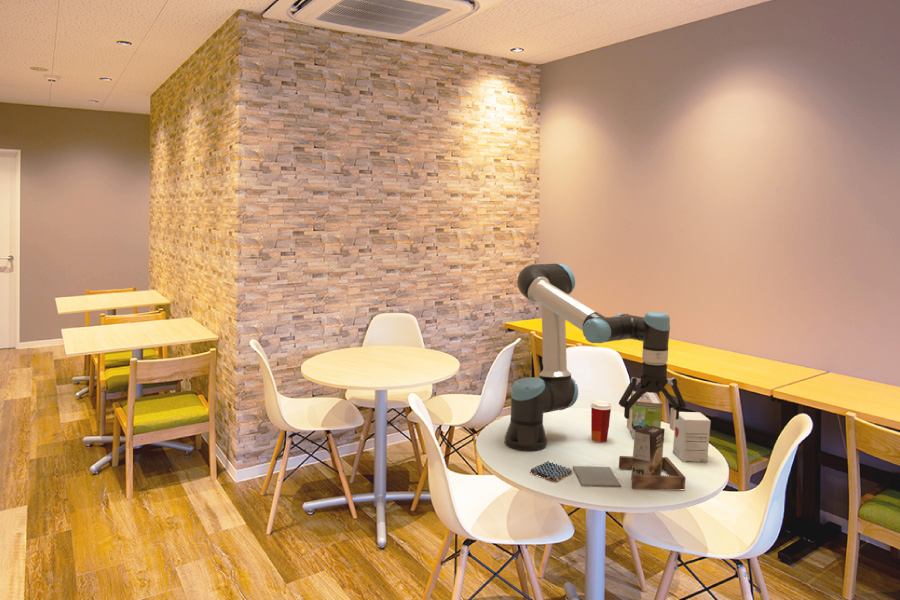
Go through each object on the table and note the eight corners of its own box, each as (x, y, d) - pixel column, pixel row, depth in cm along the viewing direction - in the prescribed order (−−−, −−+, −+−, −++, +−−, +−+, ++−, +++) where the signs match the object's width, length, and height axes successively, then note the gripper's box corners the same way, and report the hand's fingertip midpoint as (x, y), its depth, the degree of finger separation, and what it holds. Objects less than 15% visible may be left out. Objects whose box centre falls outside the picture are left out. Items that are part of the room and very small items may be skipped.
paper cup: (608, 436, 236) (610, 400, 234) (611, 444, 229) (613, 406, 227) (587, 435, 237) (589, 399, 235) (589, 442, 229) (591, 405, 228)
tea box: (660, 441, 233) (663, 403, 231) (632, 439, 234) (635, 401, 232) (653, 428, 247) (656, 391, 245) (627, 426, 249) (630, 390, 247)
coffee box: (650, 485, 194) (653, 435, 192) (630, 480, 198) (633, 431, 196) (661, 476, 201) (665, 428, 199) (642, 471, 205) (645, 423, 203)
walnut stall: (632, 488, 191) (633, 476, 191) (618, 467, 207) (619, 456, 207) (684, 490, 191) (685, 477, 191) (666, 468, 207) (667, 457, 207)
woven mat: (527, 474, 201) (528, 468, 201) (546, 465, 209) (546, 459, 208) (555, 485, 194) (555, 478, 194) (573, 475, 202) (574, 469, 201)
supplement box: (671, 452, 223) (675, 411, 221) (696, 452, 223) (700, 411, 221) (681, 462, 214) (685, 419, 212) (707, 462, 214) (711, 420, 212)
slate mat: (581, 486, 192) (581, 484, 192) (572, 467, 206) (572, 466, 206) (620, 487, 192) (620, 485, 192) (609, 468, 206) (609, 466, 206)
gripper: (617, 364, 190) (614, 432, 193) (699, 366, 190) (694, 433, 193) (611, 359, 198) (607, 424, 200) (690, 360, 198) (685, 425, 200)
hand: (650, 428), depth 197 cm, fingers open, 13 cm apart
